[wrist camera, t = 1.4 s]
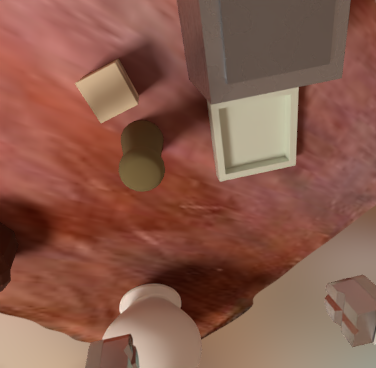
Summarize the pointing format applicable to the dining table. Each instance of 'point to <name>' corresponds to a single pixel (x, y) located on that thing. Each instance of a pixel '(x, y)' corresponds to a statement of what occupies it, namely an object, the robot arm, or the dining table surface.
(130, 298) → the decorative vase
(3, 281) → the muffin
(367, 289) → the robot arm
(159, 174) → the cork
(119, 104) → the maple block
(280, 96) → the tray
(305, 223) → the dining table surface
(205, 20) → the box
